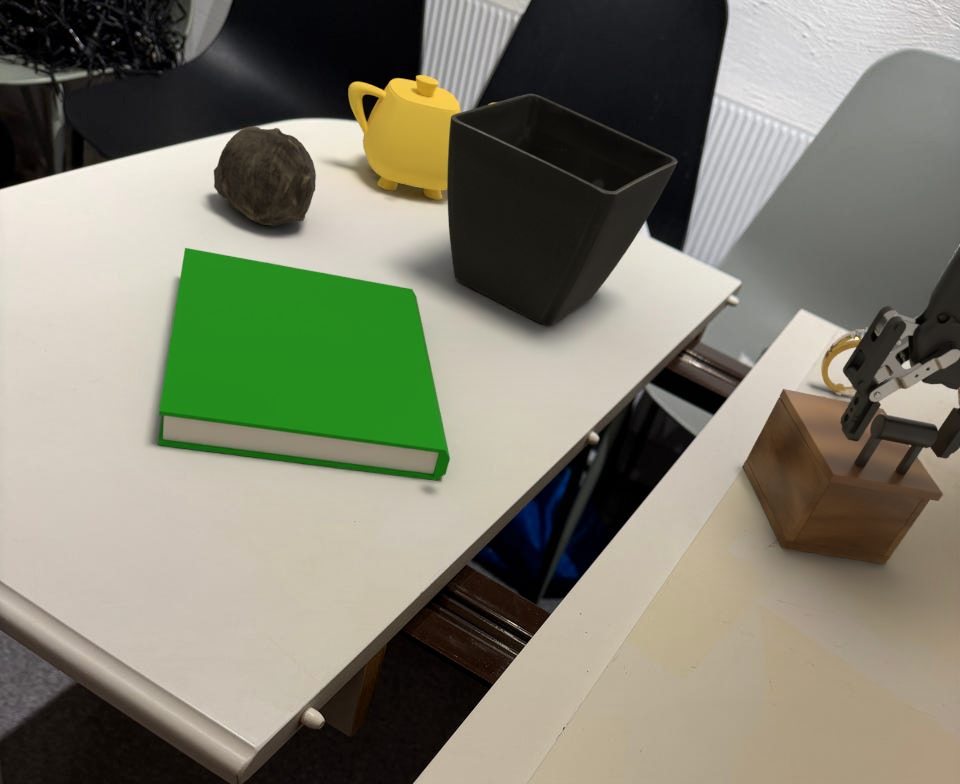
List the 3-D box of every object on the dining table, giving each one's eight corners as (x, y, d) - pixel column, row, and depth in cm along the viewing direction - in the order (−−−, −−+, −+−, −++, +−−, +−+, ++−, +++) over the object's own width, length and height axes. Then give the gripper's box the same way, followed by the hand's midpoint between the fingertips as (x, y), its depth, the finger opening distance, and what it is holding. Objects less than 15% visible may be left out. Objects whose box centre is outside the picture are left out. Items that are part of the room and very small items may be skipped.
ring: (810, 391, 111) (845, 327, 106) (807, 378, 114) (841, 315, 108) (867, 408, 112) (905, 346, 107) (862, 395, 114) (899, 333, 109)
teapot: (494, 218, 125) (521, 116, 117) (340, 187, 119) (356, 77, 111) (478, 178, 134) (502, 81, 126) (334, 148, 129) (349, 43, 120)
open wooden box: (885, 564, 88) (933, 495, 83) (782, 547, 86) (824, 476, 81) (837, 482, 97) (878, 416, 92) (742, 465, 95) (778, 396, 90)
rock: (228, 175, 111) (244, 88, 104) (319, 220, 112) (341, 137, 105) (190, 211, 104) (204, 121, 97) (287, 258, 106) (308, 173, 98)
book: (158, 444, 74) (159, 411, 72) (183, 278, 93) (184, 247, 91) (443, 481, 80) (452, 450, 78) (411, 317, 99) (417, 290, 97)
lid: (938, 501, 82) (977, 446, 79) (828, 482, 80) (863, 424, 76) (878, 415, 92) (910, 363, 88) (779, 396, 89) (807, 341, 86)
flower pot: (559, 351, 103) (614, 190, 91) (412, 275, 106) (447, 112, 95) (626, 304, 116) (681, 159, 105) (493, 238, 120) (532, 92, 109)
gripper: (1068, 256, 74) (946, 434, 85) (908, 213, 71) (802, 404, 82) (1122, 300, 69) (985, 485, 80) (952, 257, 65) (833, 455, 76)
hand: (893, 444), depth 81 cm, fingers open, 8 cm apart
